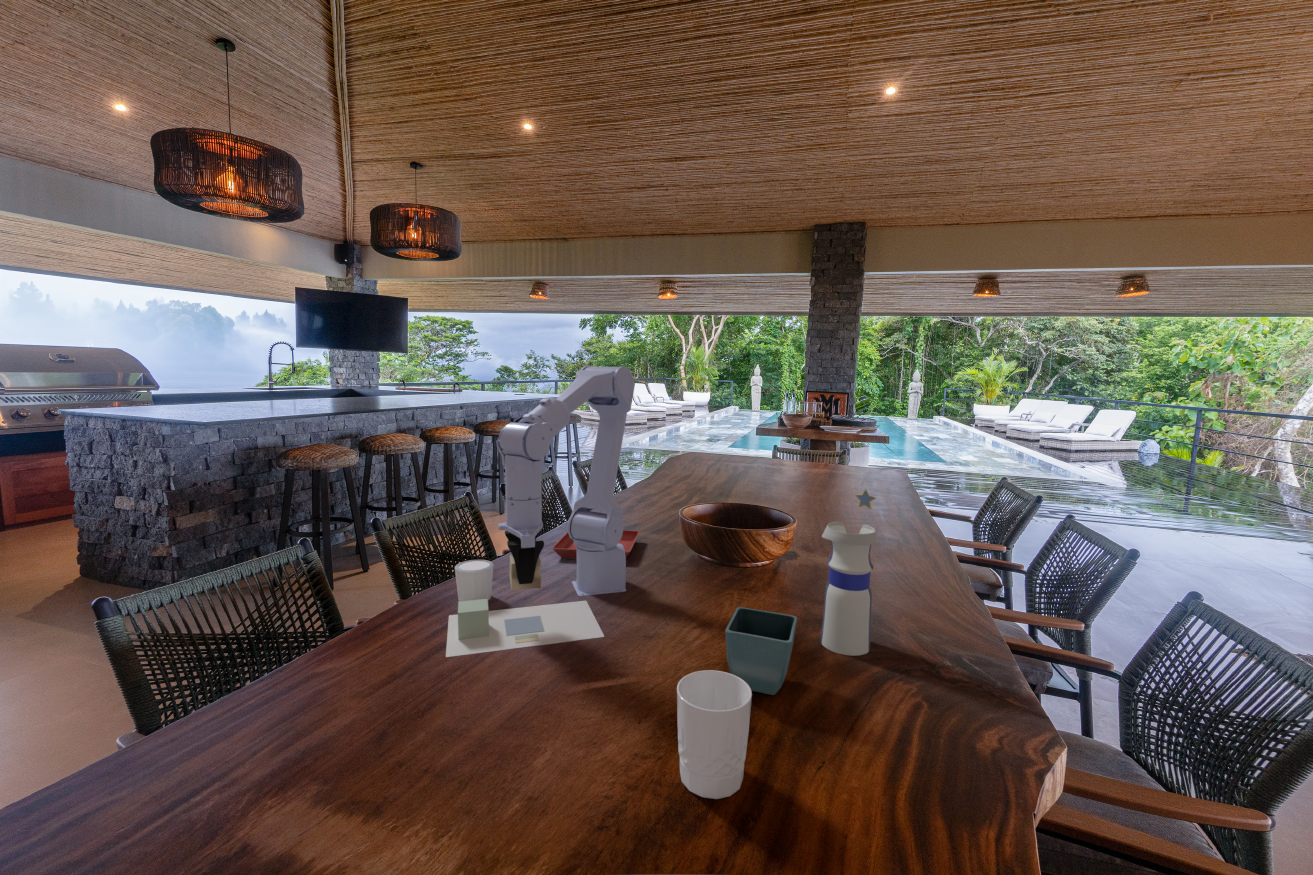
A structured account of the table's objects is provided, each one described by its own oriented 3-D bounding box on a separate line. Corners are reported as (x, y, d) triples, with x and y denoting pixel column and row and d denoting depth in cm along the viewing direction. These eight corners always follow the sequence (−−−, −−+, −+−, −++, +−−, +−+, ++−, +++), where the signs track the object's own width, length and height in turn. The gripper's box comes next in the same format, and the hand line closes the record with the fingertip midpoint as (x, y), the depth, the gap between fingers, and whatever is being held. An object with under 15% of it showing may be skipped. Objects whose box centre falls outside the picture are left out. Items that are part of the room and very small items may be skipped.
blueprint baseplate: (586, 603, 106) (586, 600, 106) (604, 640, 92) (604, 636, 91) (448, 618, 98) (448, 614, 98) (445, 660, 84) (445, 656, 84)
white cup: (670, 753, 65) (672, 670, 64) (738, 750, 65) (742, 668, 64) (679, 806, 57) (681, 712, 56) (756, 802, 58) (760, 710, 57)
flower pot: (794, 674, 82) (798, 614, 81) (788, 707, 74) (791, 642, 73) (735, 662, 85) (737, 605, 84) (722, 693, 77) (724, 630, 76)
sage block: (487, 623, 95) (487, 598, 95) (488, 635, 91) (488, 609, 90) (458, 627, 94) (458, 601, 93) (458, 639, 89) (457, 612, 89)
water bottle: (817, 628, 98) (826, 484, 95) (871, 636, 95) (881, 489, 92) (814, 649, 90) (823, 494, 87) (872, 659, 87) (883, 499, 84)
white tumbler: (499, 595, 109) (499, 559, 108) (485, 610, 102) (484, 572, 101) (465, 593, 109) (464, 558, 109) (448, 607, 103) (447, 570, 102)
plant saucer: (571, 539, 147) (571, 526, 147) (640, 542, 145) (640, 529, 145) (551, 562, 129) (551, 547, 129) (629, 566, 127) (629, 551, 127)
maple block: (537, 577, 97) (537, 552, 96) (540, 587, 93) (540, 561, 92) (509, 580, 95) (509, 554, 95) (511, 590, 91) (511, 563, 91)
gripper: (495, 488, 98) (496, 565, 99) (500, 508, 84) (501, 596, 86) (537, 486, 100) (537, 561, 102) (548, 505, 86) (548, 591, 88)
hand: (524, 577), depth 94 cm, fingers closed on maple block, 5 cm apart
